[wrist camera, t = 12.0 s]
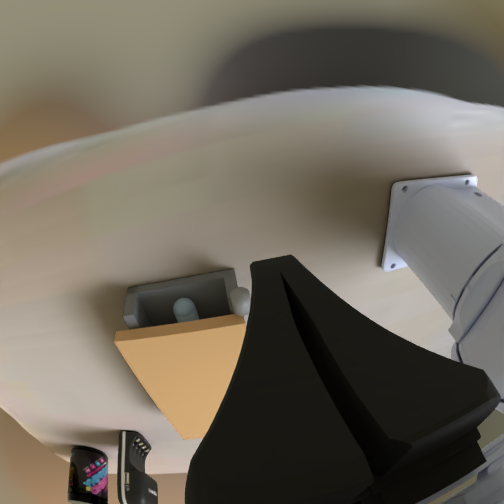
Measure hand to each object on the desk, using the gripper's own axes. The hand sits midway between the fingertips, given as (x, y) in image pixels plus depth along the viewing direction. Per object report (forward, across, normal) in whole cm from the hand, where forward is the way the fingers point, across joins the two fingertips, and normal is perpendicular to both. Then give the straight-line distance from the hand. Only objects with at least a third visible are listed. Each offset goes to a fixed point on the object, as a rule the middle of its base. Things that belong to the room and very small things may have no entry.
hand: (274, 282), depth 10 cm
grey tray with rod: (+10, +5, +17) cm, 21 cm away
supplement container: (+11, +31, +40) cm, 52 cm away
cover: (+7, +5, +17) cm, 19 cm away
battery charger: (+11, +19, +34) cm, 40 cm away
